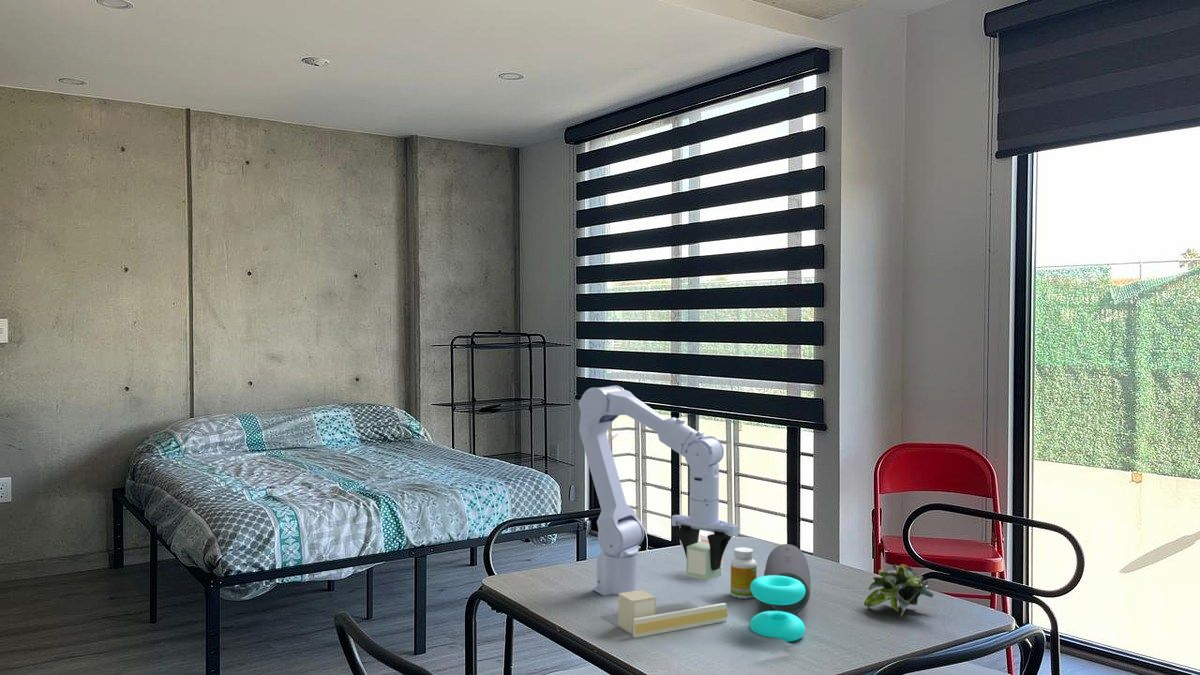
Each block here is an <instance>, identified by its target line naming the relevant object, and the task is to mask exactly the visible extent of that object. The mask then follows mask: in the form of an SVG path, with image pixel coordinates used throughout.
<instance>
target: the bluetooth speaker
mask: <svg viewBox="0 0 1200 675" xmlns="http://www.w3.org/2000/svg"><path fill="white" fill-rule="evenodd" d="M768 575H779V576H786V577H791V578H794V579H797V580H799V581H800V582H801V583H802V584H803V585H804V586H805V590H806V592H805V595H804V597H803V598H802V599H801V600H800V601H799V602H797V603H794V604H790V605H773V604H769V605H770V607H771V608H773V609H774V611H782V612H787V613H791V614H793V615H796V614H798V613H799V612H802V611H803V610H804V608H806V606H807V605H808V603H809V600H810V597H811V573H810V568H809V563H808V559H807V557H806V556H805V554H804V552H803V551H802V550H801V549H800V548H798V546H796V545H793V544H788V543H785V544H779V545H777V546H775V547H774V548H773V549H772V550H771V551H770V553H769V555H768V557H767V560H766V564H765V569H764V574H763V576H768Z"/></svg>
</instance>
